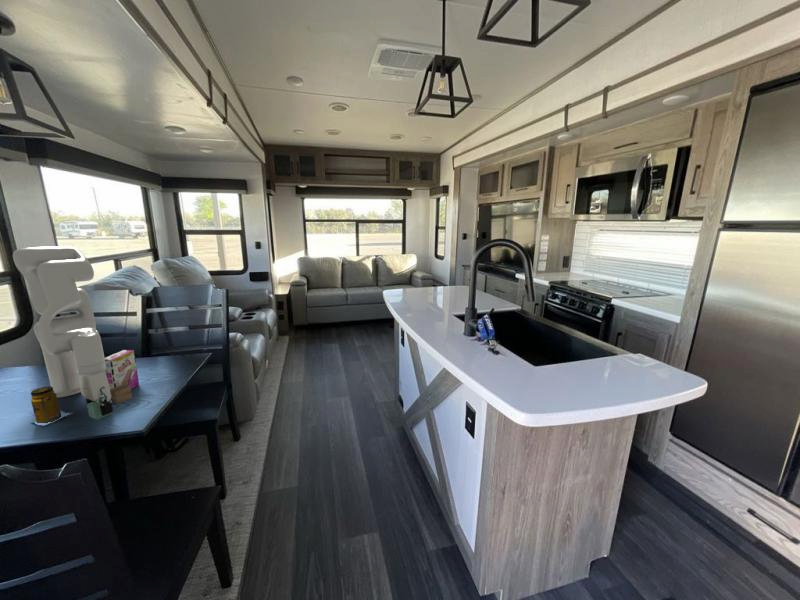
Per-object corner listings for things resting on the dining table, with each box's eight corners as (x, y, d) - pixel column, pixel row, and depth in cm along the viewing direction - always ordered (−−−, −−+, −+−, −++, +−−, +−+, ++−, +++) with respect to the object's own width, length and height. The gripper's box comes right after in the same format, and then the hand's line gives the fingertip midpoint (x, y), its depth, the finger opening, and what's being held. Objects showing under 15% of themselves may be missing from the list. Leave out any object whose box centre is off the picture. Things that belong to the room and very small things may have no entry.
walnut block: (110, 401, 128) (108, 389, 127) (125, 395, 132) (123, 384, 131) (117, 404, 126) (115, 392, 125) (132, 398, 130) (130, 387, 129)
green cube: (89, 416, 118) (86, 404, 116) (106, 409, 122) (103, 397, 121) (96, 420, 115) (93, 407, 114) (113, 413, 120) (110, 401, 119)
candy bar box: (117, 398, 130) (110, 360, 126) (105, 397, 130) (98, 359, 127) (140, 385, 141) (134, 349, 137) (129, 384, 141) (123, 349, 137)
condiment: (30, 423, 113) (22, 392, 110) (60, 410, 121) (53, 381, 118) (44, 427, 111) (36, 395, 108) (74, 414, 119) (67, 384, 116)
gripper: (65, 366, 115) (75, 409, 119) (90, 376, 108) (99, 422, 111) (92, 358, 121) (101, 400, 125) (117, 367, 114) (125, 411, 118)
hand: (100, 410), depth 118 cm, fingers open, 9 cm apart
